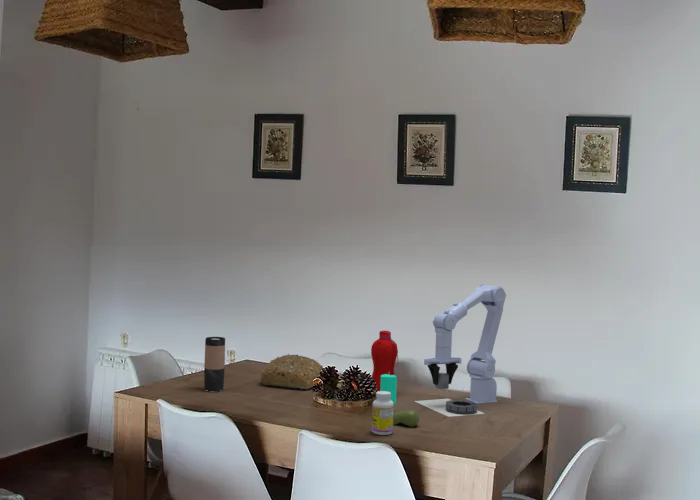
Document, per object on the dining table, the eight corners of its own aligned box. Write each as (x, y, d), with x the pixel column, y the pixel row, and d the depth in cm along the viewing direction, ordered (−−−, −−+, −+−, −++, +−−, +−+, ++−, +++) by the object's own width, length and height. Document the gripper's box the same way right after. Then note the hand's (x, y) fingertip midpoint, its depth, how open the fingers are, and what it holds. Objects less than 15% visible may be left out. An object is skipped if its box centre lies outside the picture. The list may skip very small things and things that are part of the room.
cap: (443, 386, 291) (444, 371, 291) (451, 388, 286) (451, 374, 286) (432, 386, 289) (432, 372, 289) (439, 389, 284) (440, 375, 284)
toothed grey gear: (465, 406, 289) (465, 399, 289) (483, 413, 279) (483, 405, 279) (439, 408, 285) (440, 401, 284) (456, 415, 275) (456, 408, 274)
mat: (448, 399, 301) (448, 398, 301) (485, 414, 279) (485, 413, 279) (414, 402, 294) (414, 401, 294) (448, 417, 273) (448, 416, 273)
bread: (255, 386, 313) (255, 356, 312) (277, 377, 333) (278, 348, 332) (312, 393, 305) (313, 362, 304) (332, 383, 325) (332, 354, 324)
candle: (394, 406, 286) (396, 373, 286) (378, 405, 287) (379, 372, 287) (397, 403, 292) (398, 370, 292) (381, 401, 293) (382, 369, 293)
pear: (414, 411, 256) (386, 412, 261) (416, 428, 256) (388, 428, 261) (420, 408, 261) (393, 409, 266) (422, 424, 261) (395, 424, 266)
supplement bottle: (370, 429, 253) (371, 390, 253) (391, 430, 254) (392, 390, 254) (372, 435, 247) (374, 394, 246) (393, 435, 247) (395, 395, 247)
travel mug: (228, 390, 304) (229, 338, 303) (214, 393, 298) (216, 340, 297) (213, 387, 308) (214, 336, 307) (199, 390, 302) (200, 338, 301)
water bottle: (389, 400, 296) (392, 333, 295) (365, 395, 302) (368, 330, 301) (403, 396, 303) (405, 331, 302) (379, 392, 310) (382, 328, 309)
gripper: (454, 344, 293) (453, 380, 294) (420, 345, 288) (419, 382, 288) (465, 347, 287) (463, 384, 288) (430, 348, 281) (428, 386, 282)
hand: (442, 384), depth 287 cm, fingers closed on cap, 5 cm apart
